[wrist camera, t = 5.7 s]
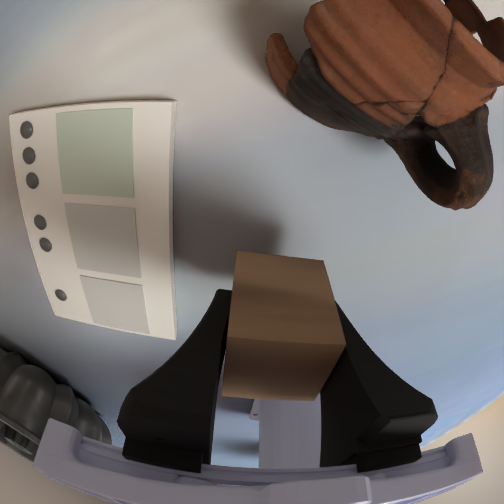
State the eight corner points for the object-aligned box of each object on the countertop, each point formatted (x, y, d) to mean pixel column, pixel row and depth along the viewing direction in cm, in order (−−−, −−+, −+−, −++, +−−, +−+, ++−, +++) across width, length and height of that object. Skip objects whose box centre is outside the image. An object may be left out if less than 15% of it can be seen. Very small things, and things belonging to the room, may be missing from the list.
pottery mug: (211, 20, 10) (263, -122, 2) (353, -8, 12) (436, -77, 4) (345, 245, 13) (510, 279, 5) (450, 162, 14) (566, 153, 7)
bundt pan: (-40, 282, 20) (-87, 346, 11) (156, 409, 28) (140, 490, 20) (-21, 369, 31) (-42, 411, 23) (102, 443, 40) (91, 489, 32)
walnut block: (303, 320, 16) (314, 400, 12) (229, 313, 16) (221, 395, 11) (323, 260, 14) (346, 344, 9) (236, 250, 13) (227, 336, 9)
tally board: (177, 331, 20) (175, 341, 19) (59, 308, 20) (54, 316, 19) (176, 100, 12) (171, 102, 11) (17, 112, 11) (8, 115, 11)
